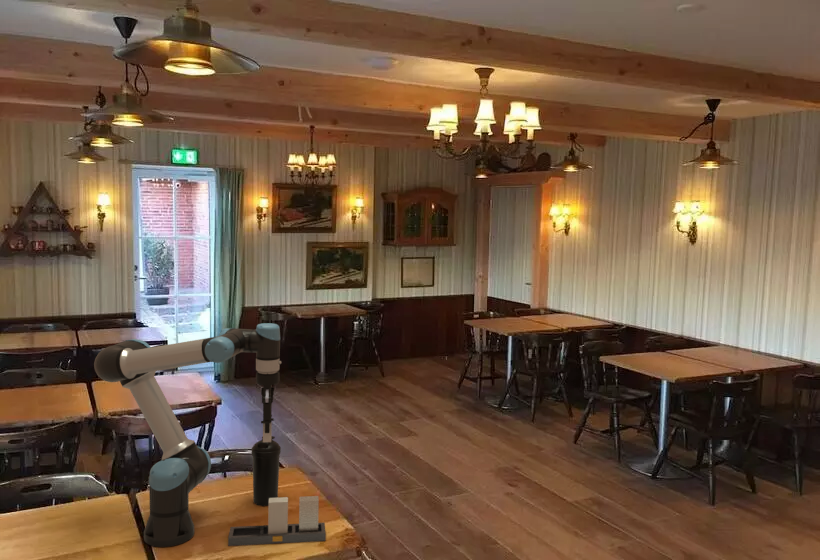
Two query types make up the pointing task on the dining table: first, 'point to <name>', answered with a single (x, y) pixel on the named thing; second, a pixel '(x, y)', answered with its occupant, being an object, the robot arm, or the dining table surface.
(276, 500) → the block
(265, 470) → the water bottle
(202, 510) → the dining table surface
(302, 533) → the rack
